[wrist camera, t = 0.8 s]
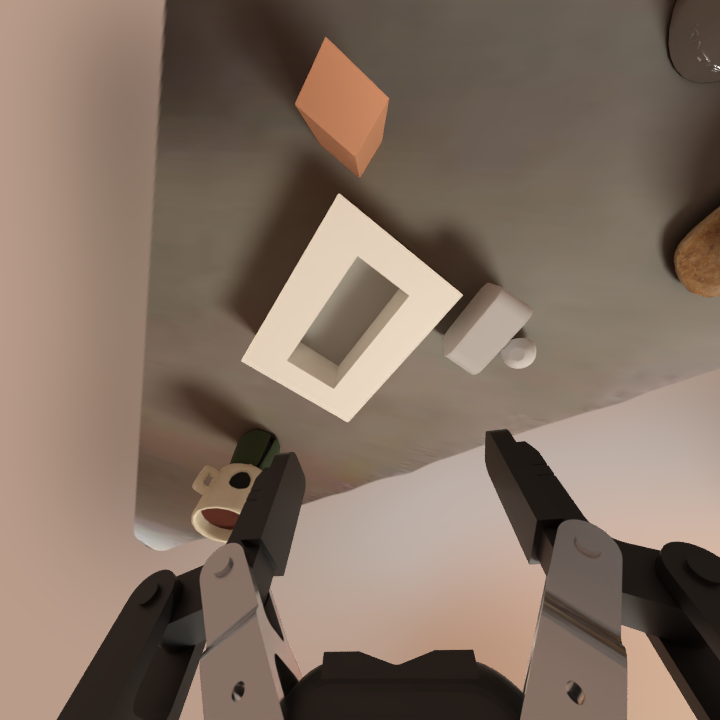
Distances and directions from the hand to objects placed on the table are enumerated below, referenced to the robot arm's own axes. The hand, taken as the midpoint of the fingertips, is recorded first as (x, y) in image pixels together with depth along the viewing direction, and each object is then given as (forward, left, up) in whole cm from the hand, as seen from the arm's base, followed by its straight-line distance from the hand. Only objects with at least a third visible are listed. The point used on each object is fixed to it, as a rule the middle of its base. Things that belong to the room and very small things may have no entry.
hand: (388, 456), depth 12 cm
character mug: (+28, -1, -24) cm, 37 cm away
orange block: (-11, -11, -23) cm, 28 cm away
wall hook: (-6, +13, -24) cm, 28 cm away
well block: (+3, -2, -23) cm, 23 cm away
